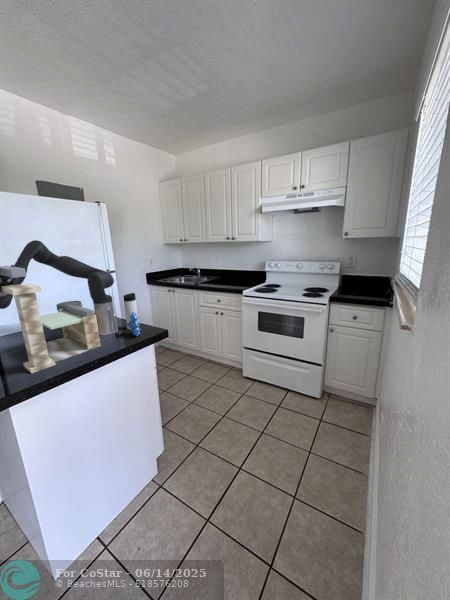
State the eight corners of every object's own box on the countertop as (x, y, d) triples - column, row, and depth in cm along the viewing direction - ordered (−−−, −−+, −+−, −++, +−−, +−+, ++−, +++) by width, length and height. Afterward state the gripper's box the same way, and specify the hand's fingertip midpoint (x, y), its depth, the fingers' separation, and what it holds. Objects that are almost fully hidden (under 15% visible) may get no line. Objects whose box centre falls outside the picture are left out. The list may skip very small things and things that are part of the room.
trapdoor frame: (75, 335, 129) (70, 307, 125) (100, 346, 113) (95, 314, 110) (33, 347, 114) (26, 316, 111) (56, 361, 99) (48, 326, 95)
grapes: (125, 333, 130) (123, 311, 127) (138, 330, 133) (136, 309, 130) (129, 340, 120) (126, 317, 117) (143, 337, 123) (140, 314, 121)
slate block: (8, 272, 104) (6, 265, 103) (26, 276, 90) (24, 268, 89) (-5, 273, 100) (-6, 266, 100) (12, 277, 87) (11, 269, 86)
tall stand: (43, 356, 105) (27, 283, 97) (55, 364, 96) (39, 286, 89) (20, 363, 98) (1, 286, 91) (31, 373, 90) (12, 289, 83)
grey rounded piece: (82, 323, 149) (79, 299, 145) (88, 327, 140) (84, 303, 136) (58, 328, 141) (54, 303, 137) (62, 333, 131) (57, 307, 128)
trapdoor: (72, 311, 125) (70, 303, 124) (94, 318, 111) (93, 310, 110) (31, 320, 111) (29, 311, 110) (51, 329, 97) (49, 320, 96)
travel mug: (141, 326, 139) (138, 293, 135) (134, 330, 133) (129, 295, 128) (132, 326, 141) (128, 292, 137) (124, 329, 135) (120, 295, 130)
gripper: (-24, 279, 102) (-22, 260, 91) (18, 275, 113) (24, 257, 102) (-19, 295, 101) (-15, 277, 91) (23, 290, 112) (31, 273, 102)
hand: (6, 267), depth 97 cm, fingers closed on slate block, 4 cm apart
